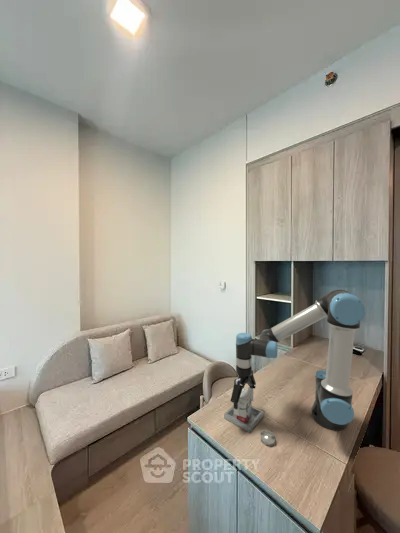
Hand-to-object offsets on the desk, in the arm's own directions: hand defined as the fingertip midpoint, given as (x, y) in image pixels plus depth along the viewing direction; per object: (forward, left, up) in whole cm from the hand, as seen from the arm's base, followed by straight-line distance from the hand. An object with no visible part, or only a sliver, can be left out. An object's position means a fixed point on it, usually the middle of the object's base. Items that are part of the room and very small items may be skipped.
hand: (244, 407), depth 111 cm
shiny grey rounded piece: (-15, +6, -6) cm, 17 cm away
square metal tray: (0, 0, -5) cm, 5 cm away
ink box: (0, 0, -5) cm, 5 cm away
